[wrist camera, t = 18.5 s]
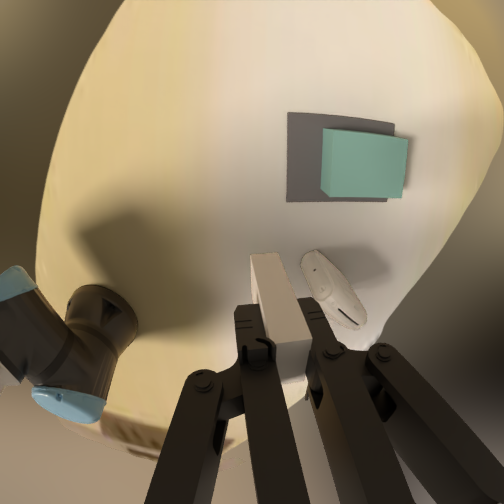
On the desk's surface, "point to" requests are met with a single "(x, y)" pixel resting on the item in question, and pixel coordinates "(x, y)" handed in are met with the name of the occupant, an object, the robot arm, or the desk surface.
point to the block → (362, 164)
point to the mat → (319, 153)
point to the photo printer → (333, 291)
